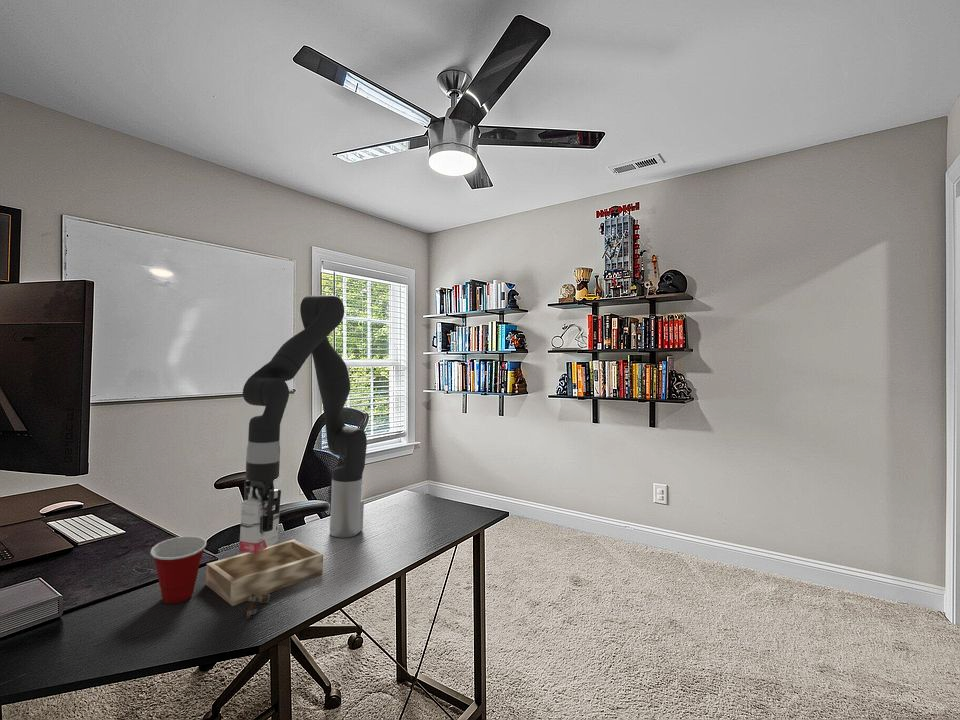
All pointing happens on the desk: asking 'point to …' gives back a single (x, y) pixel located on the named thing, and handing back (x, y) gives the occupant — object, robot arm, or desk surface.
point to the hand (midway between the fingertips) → (260, 526)
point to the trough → (263, 571)
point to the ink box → (256, 528)
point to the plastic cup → (178, 566)
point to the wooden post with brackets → (253, 599)
